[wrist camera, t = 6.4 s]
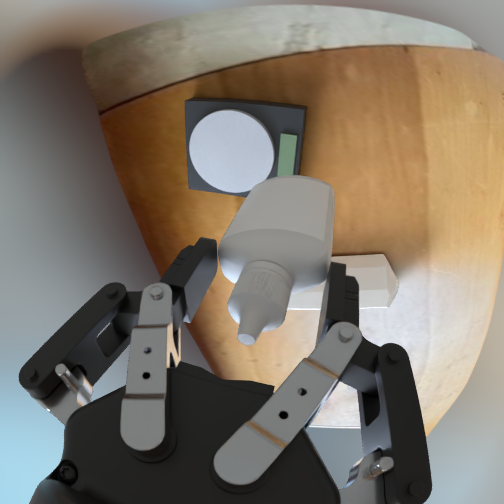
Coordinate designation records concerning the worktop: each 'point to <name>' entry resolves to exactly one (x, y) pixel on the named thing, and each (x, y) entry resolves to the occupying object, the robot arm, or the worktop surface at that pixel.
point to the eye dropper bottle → (276, 249)
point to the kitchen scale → (241, 143)
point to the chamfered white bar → (368, 277)
